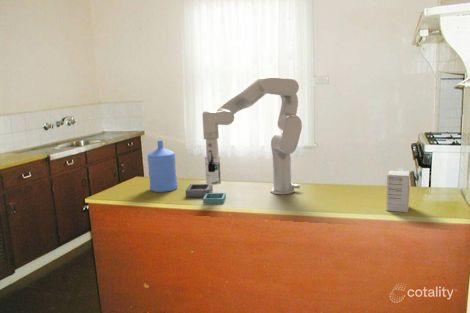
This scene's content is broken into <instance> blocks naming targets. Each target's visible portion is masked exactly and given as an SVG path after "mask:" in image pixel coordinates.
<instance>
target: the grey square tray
mask: <svg viewBox="0 0 470 313" xmlns="http://www.w3.org/2000/svg"><path fill="white" fill-rule="evenodd" d="M213 191H214V189H213V185H212V186H210V185H208V184H207V183H191V184H189V185H188V186H187V188H186V189H185V198H186V199H188V198H193V199H194V198H204V196H205V194H206V193H213Z"/></svg>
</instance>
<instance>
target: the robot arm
mask: <svg viewBox="0 0 470 313" xmlns="http://www.w3.org/2000/svg"><path fill="white" fill-rule="evenodd" d="M299 90H300V85H299V83H298V81H297V80H295V79H293V78H285V77H277V76H275V77H274V76H267V75H266V76H261V77H258V78H257V79H256V80H255V81H254V82H253V83H251V84H250V85H249V86H247V88H245V89H243V91H241V92H240V93H239V94H236V95H235V96H234V97H232V98H231V99H229V100H228V101H227V102H225V103H223V105H221V106H220V107H219V108H218V109H217V110H205V111H203V112H202V131H203V134H202V135H203V140H205V147H206V148H205V151H206V156H207V159H208V171H209V172H215V164H214V158H215V159H216V158H217V157H218V156H219V144H218V139H219V137H220V136H219V126H229V125H231V124H233V122H234V120H235V114H237V113H238V112H240V111H242V110H245V109H248V108H251V107H252V106H254V105H255V104H256V103H257V102H258V101H260V100H261V98H264V96H265V95H267V94H268V95H276V96H280V100H281V105H280V111H279V115H278V119H277V127H278V129H280V131H282V132H280V133H275V134H274V135H273V136H272V138H271V140H270V147H271V148H270V149H271V154H272V175H273V176H272V179H273V180H272V181H273V183H272V184H273V187H272V188H270V192H271V193H272V194H275V195H291V194H292V193H294V192H295V189H301V185H300V184H297V183H295V184H293V182H292V160H291V159H292V158H291V154H293V153H294V152H296V150H297V147H298V144H299V142H300V141H299V140H300V136H301V133H302V127H303V124H302V120H301V118H300V117H299V116H298V115H297V114H298V113H297V112H298V108H299V107H298V106H299V99H298V94H297V93H298V91H299ZM211 157H213V158H211Z"/></svg>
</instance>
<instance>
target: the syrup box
mask: <svg viewBox="0 0 470 313" xmlns="http://www.w3.org/2000/svg"><path fill="white" fill-rule="evenodd" d="M211 158H213V157H211ZM220 160H221V159H220V156H219V155H218V157H217V158H216V159H215V158H214V164H215V172H209V171H208V159H207V155H206V156H204V163H205V165H204V167H205V184H208V185H210V186H212V187H213V186H216V185H221V184H222V181H221V164H220Z"/></svg>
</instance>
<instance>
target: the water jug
mask: <svg viewBox="0 0 470 313" xmlns="http://www.w3.org/2000/svg"><path fill="white" fill-rule="evenodd" d="M175 154H176V153H175V152H174V151H173V150H170V149H167V148H165V147H164V141H163V140H158V141H157V148H156V149H154V150H153V151H151V152H149V153H148V154H147V164H148V177H149V190H150V191H151V192H155V193H167V192H172V191H174V190H176V189H178V181H177V180H178V179H177V173H176V172H177V171H176V155H175Z"/></svg>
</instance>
